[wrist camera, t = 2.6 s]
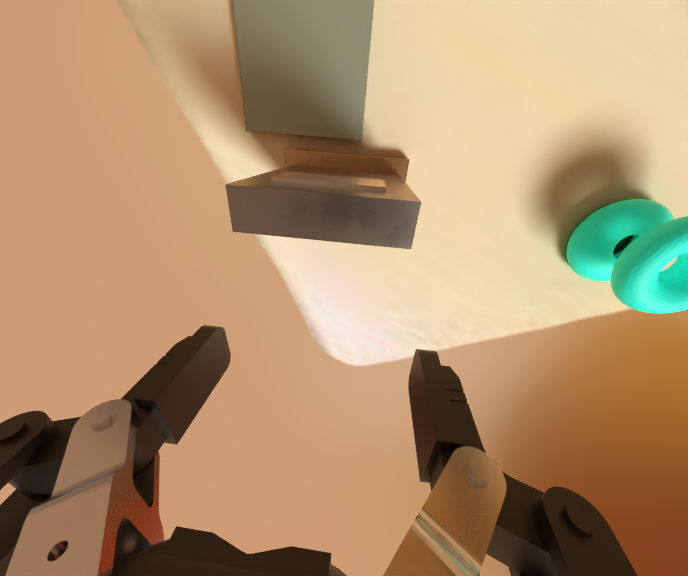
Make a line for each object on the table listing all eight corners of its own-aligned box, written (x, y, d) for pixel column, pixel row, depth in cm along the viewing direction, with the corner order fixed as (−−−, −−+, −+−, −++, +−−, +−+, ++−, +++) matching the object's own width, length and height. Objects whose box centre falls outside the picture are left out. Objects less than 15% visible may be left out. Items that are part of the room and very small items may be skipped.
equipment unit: (407, 158, 30) (444, 176, 14) (398, 211, 33) (421, 271, 17) (288, 149, 30) (204, 155, 15) (290, 201, 33) (222, 250, 18)
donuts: (681, 332, 26) (601, 296, 25) (604, 285, 35) (542, 257, 34) (803, 248, 21) (711, 199, 20) (678, 217, 30) (609, 182, 29)
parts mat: (376, -30, 23) (376, -37, 22) (361, 140, 29) (361, 139, 28) (233, -37, 23) (228, -43, 22) (250, 131, 30) (246, 130, 29)
